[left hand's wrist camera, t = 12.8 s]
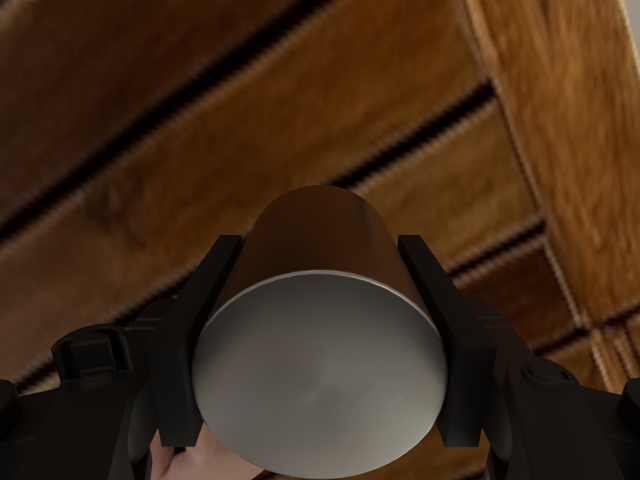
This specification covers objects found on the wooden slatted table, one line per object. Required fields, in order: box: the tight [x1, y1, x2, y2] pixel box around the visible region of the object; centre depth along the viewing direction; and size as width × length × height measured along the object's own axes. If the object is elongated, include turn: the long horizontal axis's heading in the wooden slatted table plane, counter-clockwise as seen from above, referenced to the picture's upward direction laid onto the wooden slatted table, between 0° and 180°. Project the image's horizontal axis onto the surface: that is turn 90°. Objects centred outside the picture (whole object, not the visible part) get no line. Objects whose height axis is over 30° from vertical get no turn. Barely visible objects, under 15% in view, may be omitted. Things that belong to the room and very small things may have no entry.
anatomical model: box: [150, 422, 264, 480], centre depth 26 cm, size 13×4×12 cm
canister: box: [190, 185, 449, 479], centre depth 12 cm, size 6×6×7 cm
